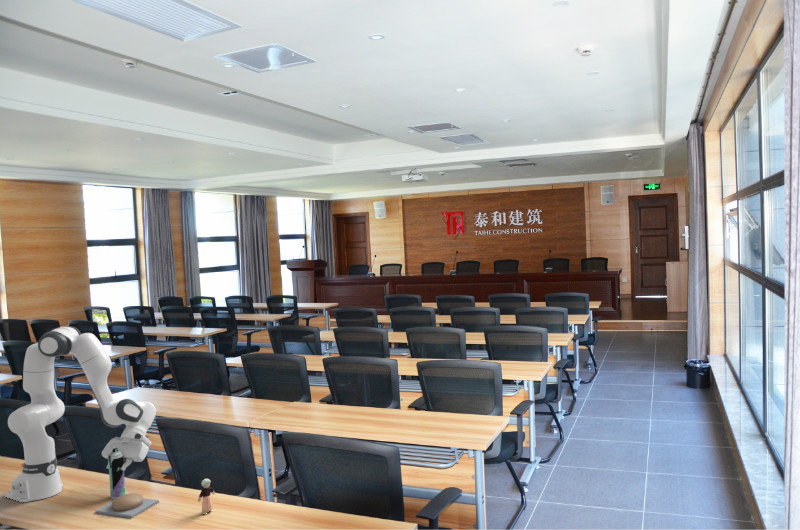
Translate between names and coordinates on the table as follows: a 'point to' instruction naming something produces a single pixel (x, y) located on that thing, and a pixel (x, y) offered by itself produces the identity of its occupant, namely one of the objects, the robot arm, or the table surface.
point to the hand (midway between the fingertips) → (115, 469)
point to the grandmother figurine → (206, 496)
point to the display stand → (127, 505)
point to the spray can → (116, 474)
